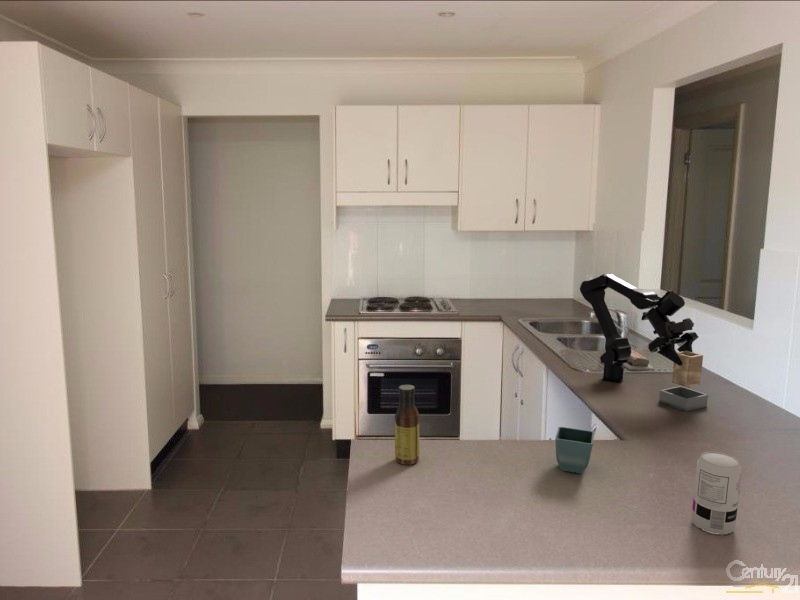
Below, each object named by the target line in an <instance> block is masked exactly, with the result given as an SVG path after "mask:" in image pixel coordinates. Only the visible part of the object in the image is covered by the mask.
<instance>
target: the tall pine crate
mask: <svg viewBox="0 0 800 600" xmlns="http://www.w3.org/2000/svg"><path fill="white" fill-rule="evenodd" d="M676 352H677V354H678V356H679V358H680V360H681V362H682V365H681V366H679V365H677V364H676V363H674V362H673V367H672V368H673V369H672V379H671V383H673V384H674V385H675V384H676V385H679V386H682V387H686V388H689V389H690V388H692V387H697V386H700V385H701V380H702V369H703V361H704V354H702V353H701V354H700V353H697V352H694V351H693V352H690V351H682V352H679V351H676Z"/></svg>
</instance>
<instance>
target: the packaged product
mask: <svg viewBox="0 0 800 600" xmlns="http://www.w3.org/2000/svg"><path fill="white" fill-rule="evenodd" d="M631 352H632V353H631V356H630V358H629V359H628V361H627V363H623V367H624V368H625V369H628V370H630V371H647V370H648V371H649V370H651V371H653V370H655V367H654V366H652V365H651V364H649V363H650V360H649V359H648V358H646V357H645V356H643V355H641V354H640V353H638V352H637V351H635V350H633V349H632V348H631Z"/></svg>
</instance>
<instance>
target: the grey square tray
mask: <svg viewBox="0 0 800 600" xmlns="http://www.w3.org/2000/svg"><path fill="white" fill-rule="evenodd" d="M708 398H709V394H706V393H704V392H701V391H698V390H694V389H691V388H690V387H689V388H688V387H685V386H682V385H679V386H674V387H669V388H664V389H660V390H659V398H658V402H659V403H661V404H663V405H667V406H670V407H672V408H675V409H678V410H681V411H683V412H690V411H694V410H698V409H702V408H703V409H704V408H706V407H708Z"/></svg>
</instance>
